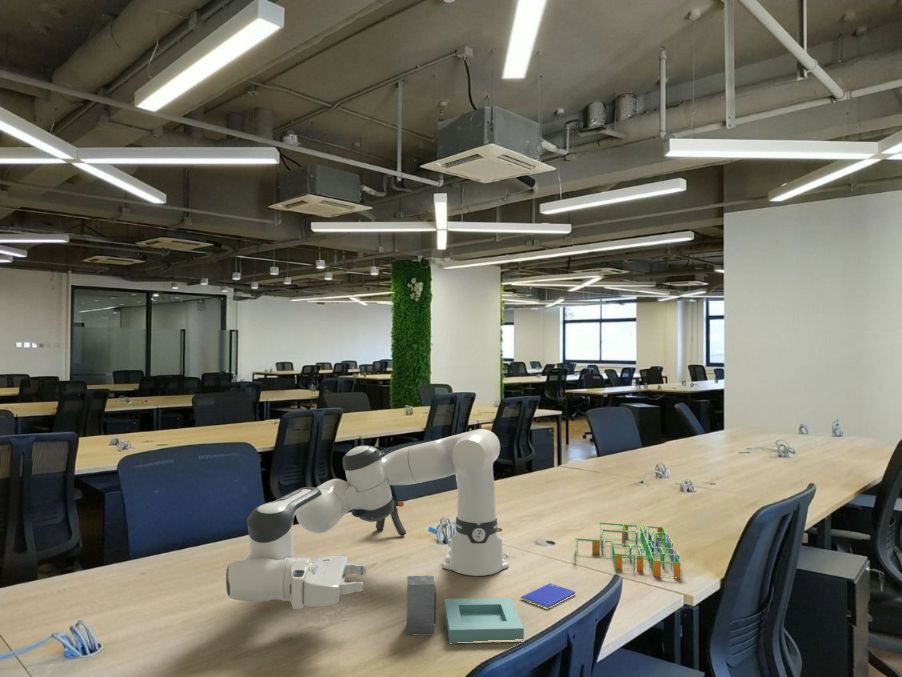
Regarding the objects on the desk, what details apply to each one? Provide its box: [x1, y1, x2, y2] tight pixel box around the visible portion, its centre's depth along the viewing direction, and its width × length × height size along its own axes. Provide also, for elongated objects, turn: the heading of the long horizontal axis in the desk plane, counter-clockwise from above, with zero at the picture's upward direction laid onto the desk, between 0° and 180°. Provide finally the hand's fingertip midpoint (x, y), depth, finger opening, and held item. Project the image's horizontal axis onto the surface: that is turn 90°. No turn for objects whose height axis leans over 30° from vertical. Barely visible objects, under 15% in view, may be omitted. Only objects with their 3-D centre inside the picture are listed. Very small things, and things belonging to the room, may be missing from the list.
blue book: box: [520, 583, 576, 608], centre depth 155 cm, size 2×8×12 cm
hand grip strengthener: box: [375, 501, 407, 537], centre depth 206 cm, size 2×12×15 cm, turn 53°
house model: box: [574, 522, 681, 579], centre depth 189 cm, size 35×30×5 cm
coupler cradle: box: [443, 597, 525, 644], centre depth 138 cm, size 16×16×3 cm
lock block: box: [406, 575, 437, 636], centre depth 136 cm, size 5×6×11 cm
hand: (364, 577), depth 135 cm, fingers open, 8 cm apart
